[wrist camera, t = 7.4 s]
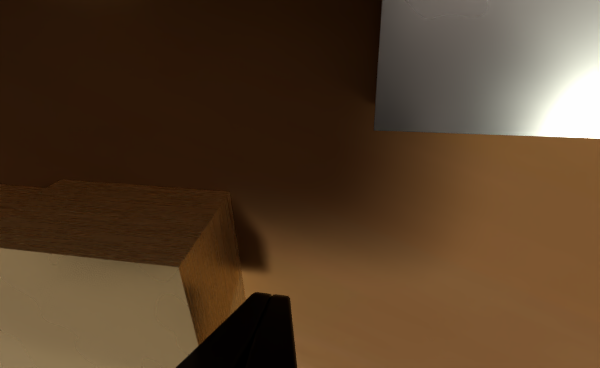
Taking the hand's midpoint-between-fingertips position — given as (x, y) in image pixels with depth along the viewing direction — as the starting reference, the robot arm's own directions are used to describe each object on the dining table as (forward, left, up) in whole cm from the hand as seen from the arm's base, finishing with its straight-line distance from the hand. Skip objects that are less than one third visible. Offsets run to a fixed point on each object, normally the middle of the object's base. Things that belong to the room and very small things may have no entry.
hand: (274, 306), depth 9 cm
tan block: (+3, 0, -1) cm, 4 cm away
